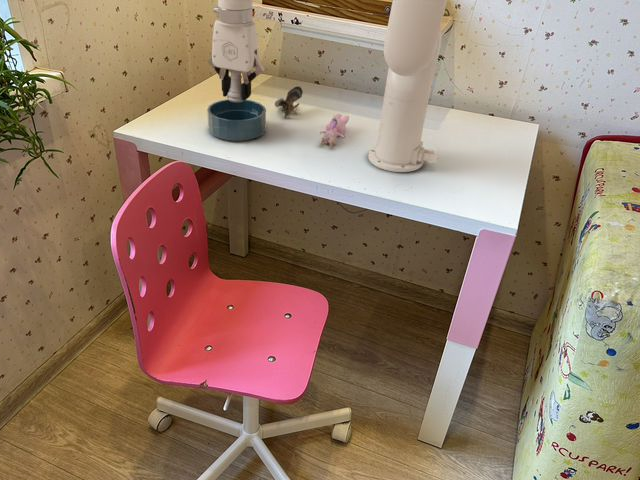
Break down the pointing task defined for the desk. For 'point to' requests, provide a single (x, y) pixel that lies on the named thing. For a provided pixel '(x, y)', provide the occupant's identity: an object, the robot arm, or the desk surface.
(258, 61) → the robot arm
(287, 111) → the eagle figurine
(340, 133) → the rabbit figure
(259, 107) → the bowl
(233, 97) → the rook chess piece
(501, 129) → the desk surface
